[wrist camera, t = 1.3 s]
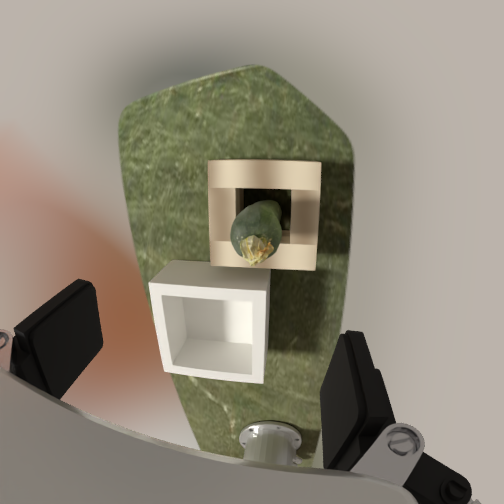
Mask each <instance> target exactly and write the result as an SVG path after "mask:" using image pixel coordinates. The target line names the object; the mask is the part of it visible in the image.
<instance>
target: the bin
mask: <svg viewBox="0 0 504 504" xmlns="http://www.w3.org/2000/svg"><path fill="white" fill-rule="evenodd" d="M270 274H271V269H268V268H248V267H228V266H211V262H204V261H185V260H171V261H170V262H169V263H168V264H167V265H166V266H165V267H164V268H163V269H162V270H161V271H160V272H159V273H158V274H157V275H156V276H155V277H154V278H153V279H152V280H151V281H150V282H149V289H150V296H151V302H152V309H153V315H154V321H155V327H156V332H157V337H158V343H159V348H160V353H161V358H162V363H163V368H164V371H165V372H171V373H177V374H183V375H189V376H196V377H204V378H211V379H220V380H228V381H238V382H249V383H262V384H263V381H264V374H265V366H266V359H267V351H268V332H269V305H270Z"/></svg>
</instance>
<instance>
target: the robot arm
mask: <svg viewBox="0 0 504 504" xmlns="http://www.w3.org/2000/svg"><path fill="white" fill-rule="evenodd" d="M14 332H15V336H14V337H12V335H11V333H10V332H8V331H7V330H3V329H0V504H481V503H480V502H479V501H478V500H477V499H476V500H475V501H473V500H472V499H471V495H472V489H471V486H470V483H469V482H468V480H467V479H466V478H465V477H463V476H462V475H460V474H459V473H457V472H455V471H453V470H452V469H450V468H448V467H447V466H445V465H443V464H442V463H440V462H439V461H437V460H435V459H433V458H432V457H430V456H429V455H427V454H426V453H424V452H423V450H424V447H425V442H424V438H423V436H422V435H421V433H420V432H419V431H418V430H417V429H416V428H414V427H413V426H410V425H408V424H404V423H396V421H395V418H394V414H393V411H392V407H391V404H390V400H389V397H388V394H387V391H386V388H385V385H384V381H383V378H382V375H381V372H380V370H379V369H375V368H374V365H373V361H372V358H371V355H370V352H369V349H368V346H367V343H366V340H365V337H364V334H363V332H359V331H350V330H347V331H346V333H345V334H340V336H339V339H338V342H337V345H336V348H335V351H334V354H333V356H332V359H331V362H330V365H329V368H328V370H327V373H326V376H325V378H324V381H323V384H322V386H321V390H320V406H321V422H322V441H323V466H324V469H320V468H319V469H318V468H310V467H298V466H297V463H298V464H300V463H301V462H302V459H301V458H299V457H297V456H296V450H297V449H298V448H299V447H300V445H301V440H302V438H301V434H300V433H299V431H298V430H297V429H295V428H294V427H292V426H290V425H288V424H284V423H280V422H274V421H263V422H257V423H253V424H250V425H248V426H246V427H245V428H244V429H243V430H242V431H241V433H240V437H239V441H240V444H241V445H242V446H243V447H244V448H245V452H244V458H243V459H239V458H233V457H228V456H223V455H218V454H213V453H209V452H204V451H200V450H195V449H192V448H188V447H184V446H180V445H176V444H173V443H169V442H166V441H163V440H159V439H156V438H153V437H150V436H146V435H144V434H141V433H138V432H135V431H132V430H129V429H127V428H124V427H121V426H118V425H116V424H113V423H111V422H108V421H106V420H103V419H101V418H98V417H96V416H94V415H91V414H89V413H87V412H84V411H82V410H80V409H78V408H76V407H74V406H71V405H69V404H67V403H65V402H63V401H61V400H60V399H61V398H62V396H63V395H64V394H65V393H66V391H67V390H68V389H69V388H70V386H71V385H72V384H73V383H74V381H75V380H76V379H77V378H78V376H79V375H80V374H81V373H82V371H83V370H84V369H85V368H86V367H87V365H88V364H89V363H90V362H91V361H92V359H93V358H94V357H95V356H96V355H97V353H98V352H99V351H100V349H101V348H102V346H103V337H102V332H101V325H100V318H99V312H98V305H97V297H96V290H95V287H94V286H93V285H92V283H91V282H89V281H85V280H82V279H77V280H76V281H74V282H73V283H72V284H70V285H69V286H67V287H66V288H65V289H63V290H62V291H61V292H59V293H58V294H57V295H55V296H54V297H53V298H51V299H50V300H49V301H47V302H46V303H45V304H43V305H42V306H41V307H39V308H38V309H37V310H36V311H34V312H33V313H32V314H30V315H29V316H28V317H27V318H26V319H24V320H23V321H22V322H21V323H19V324H18V325H17V326H16V327H14ZM293 461H294V462H293ZM295 462H296V463H295Z"/></svg>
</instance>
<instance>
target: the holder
mask: <svg viewBox="0 0 504 504" xmlns="http://www.w3.org/2000/svg"><path fill="white" fill-rule="evenodd" d="M320 186H321V162H318V161H303V160H274V159H219V160H209V161H208V201H209V235H210V260H211V266H228V267H248V268H268V269H290V270H314V271H315V266H316V254H317V240H318V225H319V208H320ZM244 188H265V189H291V217H290V230H282V237H281V241H280V244H279V247H278V249H277V251H276V253H275V254H273V255H272V256H271V257H269V258H268V259H266V260H265V261H264V262H262V263H260V264H259V262H258V264H256V266H253V267H252V266H250V263H249V262H248V261H246V260H245V259H244V258H243V257H241V256H240V255H238V254H237V253H236V251H235V249H234V248H233V246H232V243H231V239H230V232H231V226H232V224H233V221H234V220H235V218H236V217H237V215H238V214H239V213H240V212H241V211H243V210H244Z"/></svg>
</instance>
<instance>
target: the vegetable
mask: <svg viewBox="0 0 504 504" xmlns="http://www.w3.org/2000/svg"><path fill="white" fill-rule="evenodd" d="M281 215H282V211H281V208H280V206H279V204H278V203H277V202H275V201H273V200H264V201H259V202H256V203H254V204H253V205H249V206H247V207H246V208H245V209H244V210H243V211H241V212H240V213H239V214H238V215H237V217H236V218H235V220H234V221H233V224H232V226H231V232H230V239H231V243H232V246H233V248H234V249H235V251H236V253H237V254H238V255H240V256H241V257H243V258H244V259H245V260H246V261H248V262H249V263H250V266H252V267H253V266H256V264H258V262H259V264H260V263H262V262H264V261H265V260H266V259H268V258H269V257H271V256H272V255H273V254H275V253H276V251H277V249H278V247H279V244H280V241H281V237H282V230H281V226H280V223H279V222H280V220H281Z"/></svg>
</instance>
